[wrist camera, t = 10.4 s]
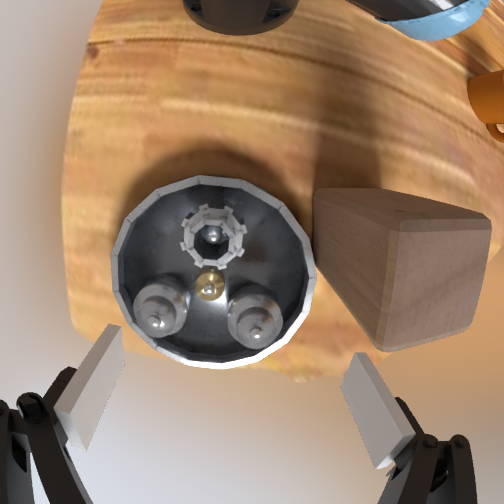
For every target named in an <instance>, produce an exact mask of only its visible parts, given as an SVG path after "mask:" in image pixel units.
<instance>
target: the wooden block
mask: <svg viewBox="0 0 504 504" xmlns="http://www.w3.org/2000/svg"><path fill="white" fill-rule="evenodd" d="M313 206H314V245H313V259H314V264H315V266H316V267H317V268H318V270H319V271H320V272H321V274H322V275H323V276H324V278H325V279H326V280H327V282H328V283H329V284H330V286H331V287H332V288H333V290H334V291H335V292H336V294H337V295H338V296H339V298H340V299H341V300H342V302H343V303H344V304H345V306H346V307H347V308H348V310H349V311H350V312H351V314H352V315H353V317H354V318H355V319H356V321H357V322H358V323H359V325H360V326H361V328H362V329H363V330H364V332H365V333H366V334H367V336H368V337H369V339H370V340H371V342H372V343H373V344H374V346H375V347H376V349H378V350H380V351H382V352H393V351H398V350H402V349H406V348H410V347H414V346H417V345H421V344H425V343H429V342H432V341H436V340H439V339H442V338H446V337H449V336H452V335H455V334H458V333H461V332H464V331H466V330H467V329H468V328H469V326H470V325H471V323H472V321H473V317H474V314H475V310H476V307H477V303H478V299H479V296H480V292H481V287H482V283H483V278H484V274H485V269H486V264H487V258H488V252H489V246H490V239H491V231H492V226H491V220H489V219H488V218H487V217H486V216H485V215H483V214H482V213H479V212H476V211H472V210H469V209H465V208H462V207H458V206H454V205H451V204H447V203H443V202H439V201H435V200H431V199H427V198H423V197H418V196H414V195H410V194H405V193H401V192H396V191H391V190H386V189H381V188H320V189H318V190H316V191H315V193H314V196H313Z"/></svg>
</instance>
